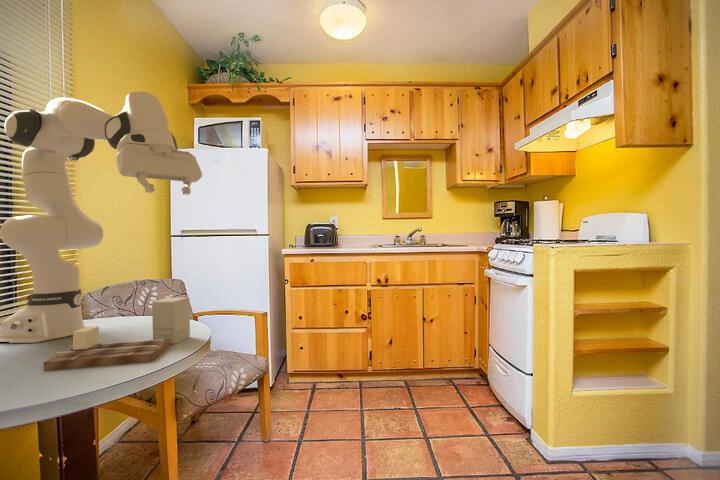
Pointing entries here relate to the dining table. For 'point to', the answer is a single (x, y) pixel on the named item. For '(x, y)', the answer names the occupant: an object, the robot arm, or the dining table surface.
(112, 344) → the brown striped wooden board
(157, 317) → the supplement box
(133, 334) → the dining table surface
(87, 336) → the beige cube
